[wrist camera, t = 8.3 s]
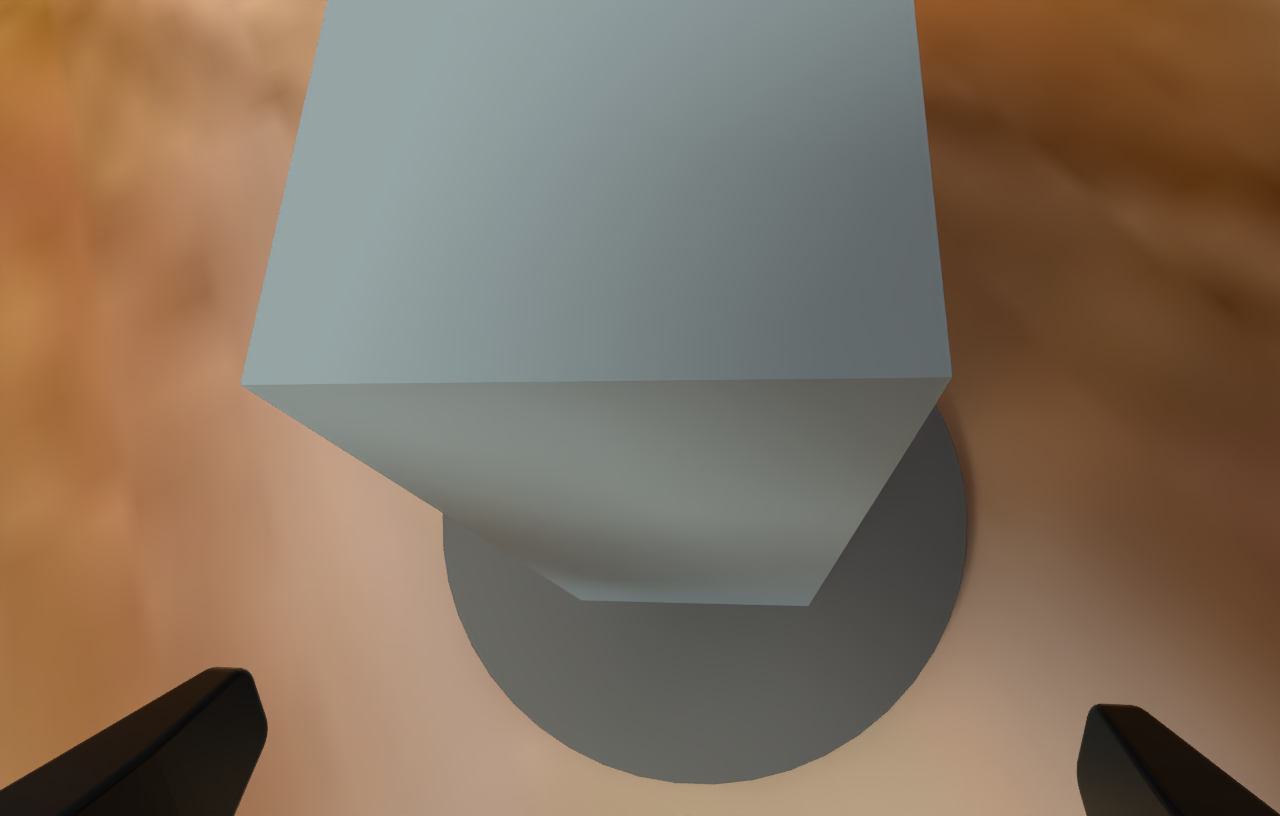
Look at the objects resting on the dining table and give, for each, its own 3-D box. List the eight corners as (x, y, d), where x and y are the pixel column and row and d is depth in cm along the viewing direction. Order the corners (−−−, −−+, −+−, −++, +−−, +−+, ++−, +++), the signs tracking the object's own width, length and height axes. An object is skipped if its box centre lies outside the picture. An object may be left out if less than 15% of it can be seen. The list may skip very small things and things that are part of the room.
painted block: (808, 606, 17) (953, 377, 5) (581, 600, 18) (241, 384, 6) (801, 391, 19) (897, -157, 7) (594, 392, 20) (351, -106, 8)
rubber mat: (616, 904, 16) (612, 911, 16) (372, 444, 21) (361, 437, 20) (1079, 574, 17) (1089, 569, 17) (755, 202, 22) (755, 189, 21)
